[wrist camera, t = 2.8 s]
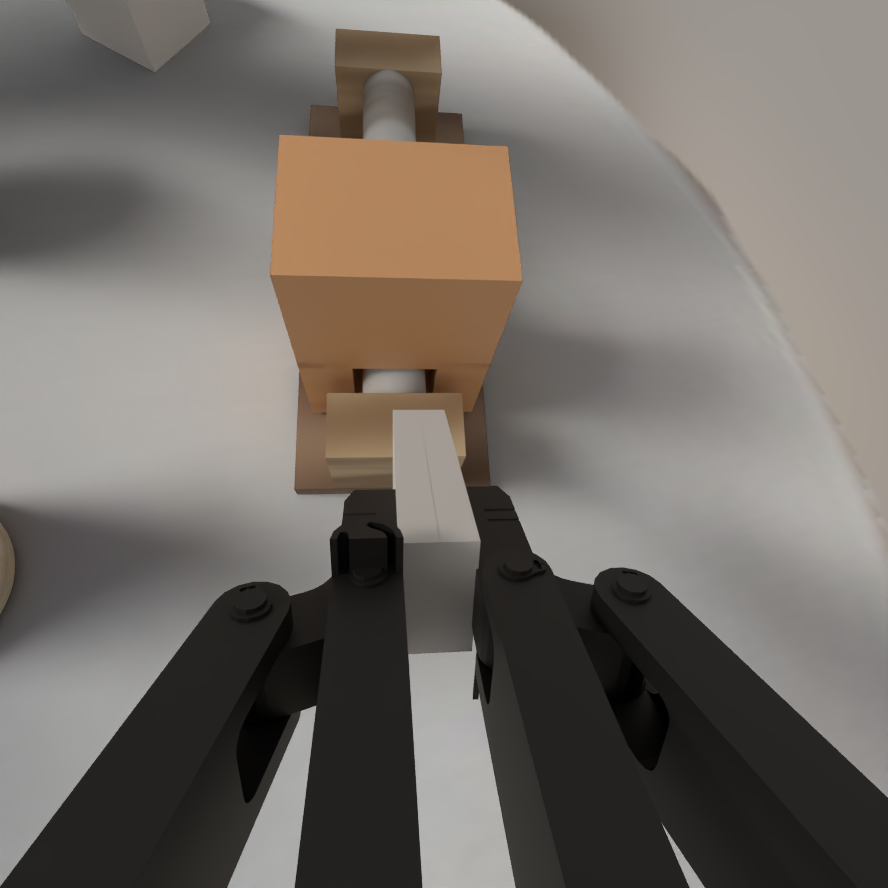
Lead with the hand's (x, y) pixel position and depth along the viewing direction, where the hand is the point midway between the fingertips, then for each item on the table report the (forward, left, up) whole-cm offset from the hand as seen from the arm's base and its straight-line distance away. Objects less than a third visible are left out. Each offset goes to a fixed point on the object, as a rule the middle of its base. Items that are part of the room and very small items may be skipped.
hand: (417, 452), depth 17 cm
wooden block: (-8, +4, -12) cm, 15 cm away
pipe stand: (-13, +7, -13) cm, 20 cm away
